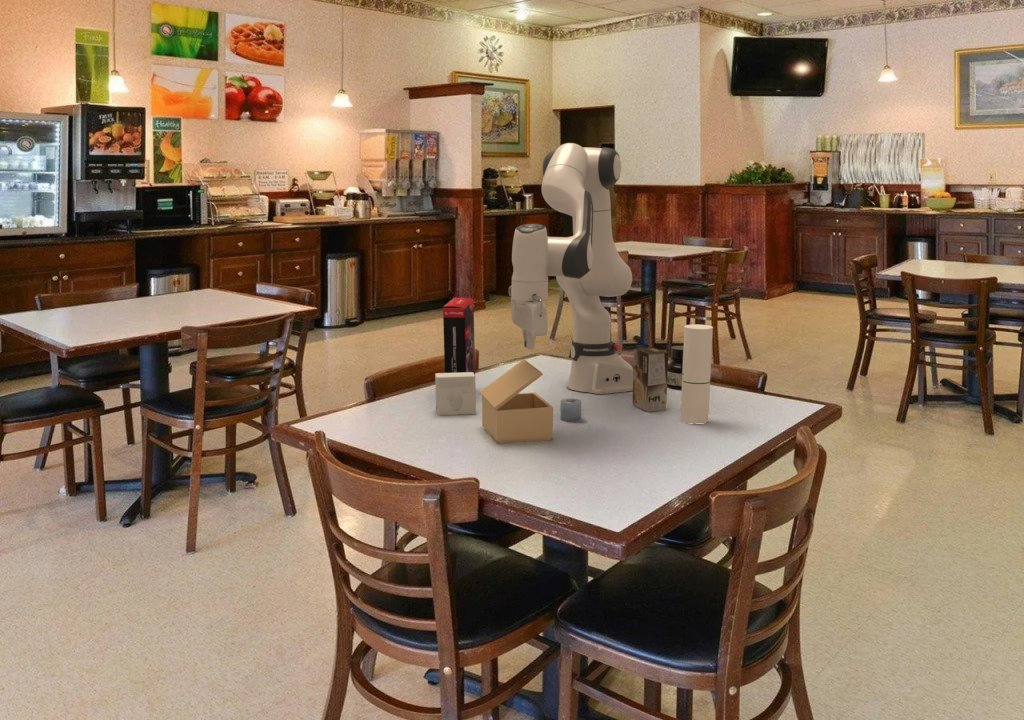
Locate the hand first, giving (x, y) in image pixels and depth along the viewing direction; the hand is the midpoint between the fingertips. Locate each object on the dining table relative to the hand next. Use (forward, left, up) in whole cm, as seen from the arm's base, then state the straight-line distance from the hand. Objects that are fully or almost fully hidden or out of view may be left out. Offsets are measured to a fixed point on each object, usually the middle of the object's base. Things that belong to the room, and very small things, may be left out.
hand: (528, 348), depth 229 cm
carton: (+3, 0, -21) cm, 21 cm away
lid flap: (+4, 0, -9) cm, 10 cm away
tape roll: (-14, -9, -21) cm, 27 cm away
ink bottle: (-58, -37, -22) cm, 72 cm away
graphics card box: (+9, -42, -22) cm, 48 cm away
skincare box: (+14, -23, -22) cm, 34 cm away
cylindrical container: (-45, 0, -22) cm, 50 cm away
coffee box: (-39, -16, -22) cm, 47 cm away
